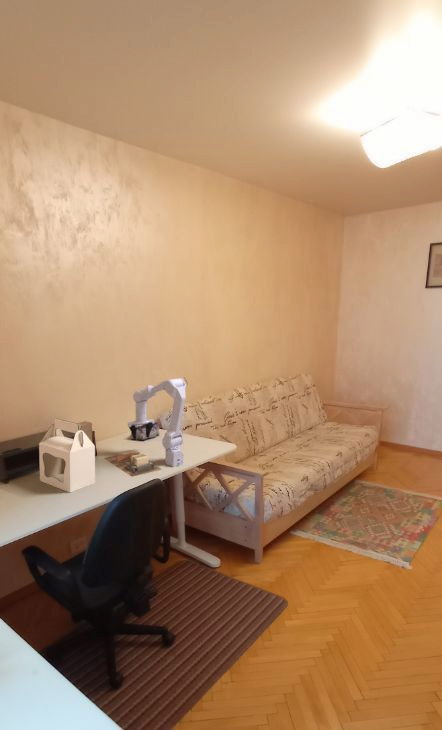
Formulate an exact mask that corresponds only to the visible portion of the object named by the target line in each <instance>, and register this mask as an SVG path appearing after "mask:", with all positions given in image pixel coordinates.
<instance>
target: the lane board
mask: <svg viewBox="0 0 442 730" xmlns="http://www.w3.org/2000/svg"><path fill="white" fill-rule="evenodd" d="M131 453H132V452H126V453H123V454H118V455H117V454H116V455H111V456H107V457H104V458H103V459H105V460H106V461H108V462H109V463H110V464H112V465H114V466H115V467H117V468H118V469H119V470H121V471H123V472H124V473H126V474H127V475H128V476H130V477H132V478H133V477H137V476H141V475H144V474H145V475H146V474H149V473H153V472H158V471H162V470H163V469H162V468H161V467H159V466H156V465H155V463H152V462H151V461H149V460H148V465H145V466H140V467H136V466H134V465H132V464H131V459H127V460H122V461H117V460H116V456H121V455H126V454H131Z"/></svg>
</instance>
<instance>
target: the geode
mask: <svg viewBox="0 0 442 730" xmlns="http://www.w3.org/2000/svg"><path fill="white" fill-rule="evenodd" d="M136 428H137V431H136V440H137V441H145V440H147V439H155V438H156V437H157V436H160V426H159V424H158V422H155V421H154V423H153V427H152V429H151V431H150V435H149V437H146V427H145V424H144V425H137V426H136ZM130 439H131V440H134V439H133V436H132V432H131V431H130Z"/></svg>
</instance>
